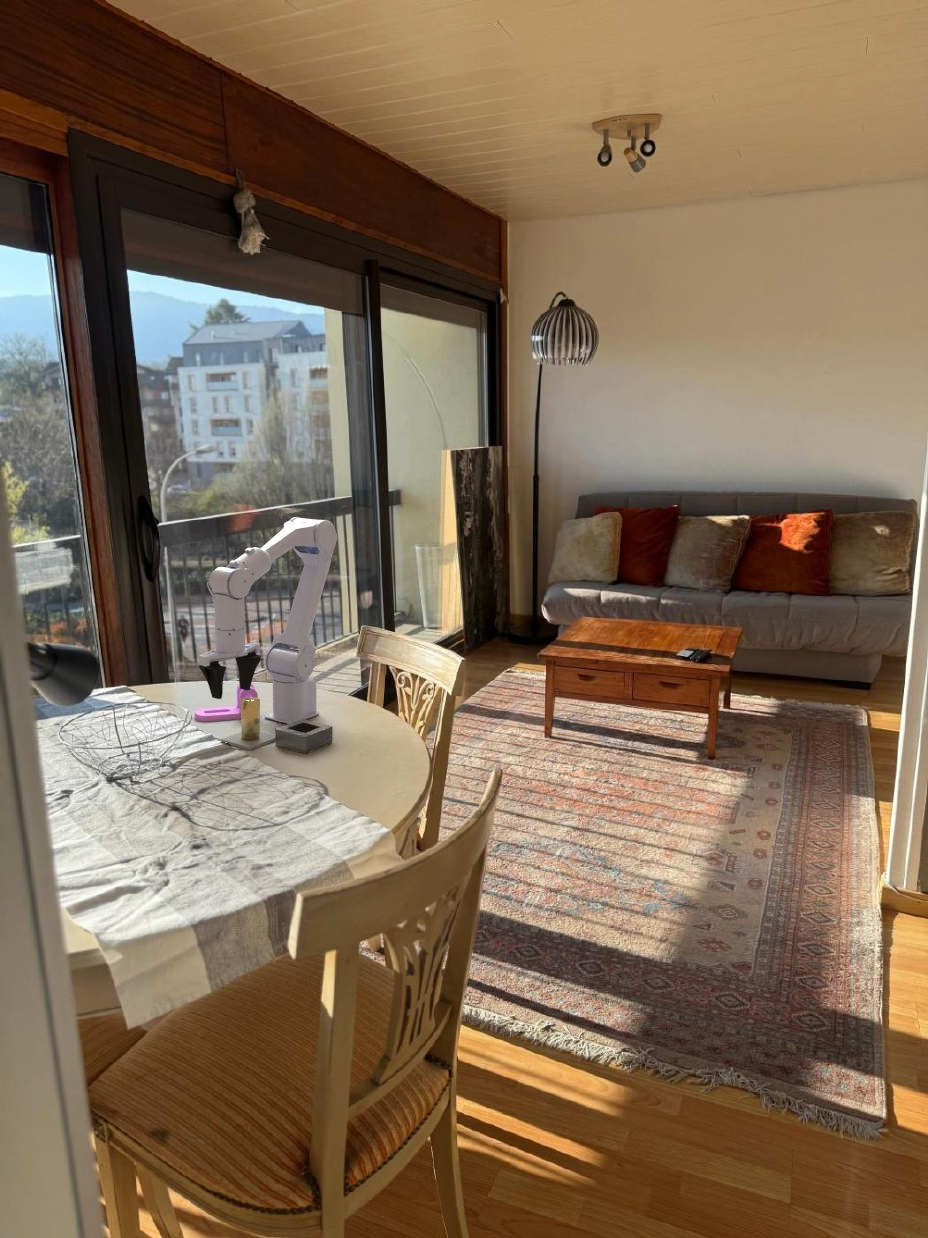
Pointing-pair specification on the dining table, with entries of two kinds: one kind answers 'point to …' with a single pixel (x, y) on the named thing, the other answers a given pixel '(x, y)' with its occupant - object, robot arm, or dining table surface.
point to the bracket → (226, 708)
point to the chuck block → (303, 736)
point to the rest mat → (249, 745)
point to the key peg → (250, 719)
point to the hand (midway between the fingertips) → (231, 693)
